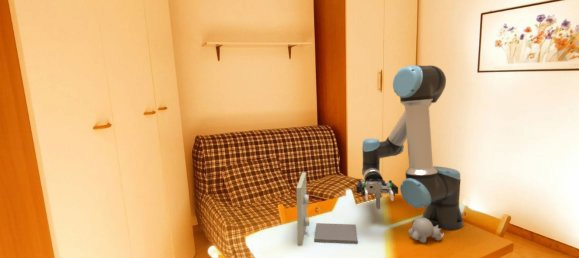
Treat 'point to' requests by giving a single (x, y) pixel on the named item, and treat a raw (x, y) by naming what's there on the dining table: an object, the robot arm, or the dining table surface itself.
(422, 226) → the chubby cartoon animal
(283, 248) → the dining table surface
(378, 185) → the mechanical component
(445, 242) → the dining table surface
